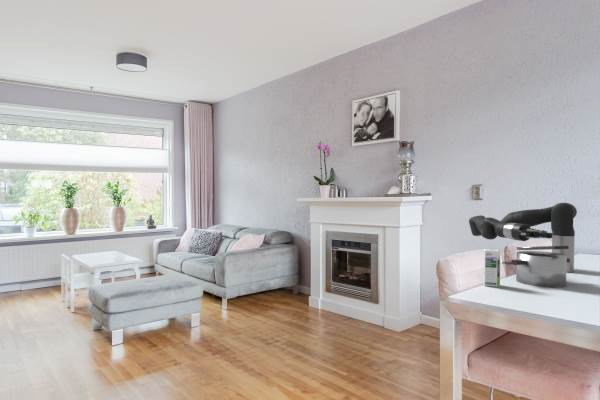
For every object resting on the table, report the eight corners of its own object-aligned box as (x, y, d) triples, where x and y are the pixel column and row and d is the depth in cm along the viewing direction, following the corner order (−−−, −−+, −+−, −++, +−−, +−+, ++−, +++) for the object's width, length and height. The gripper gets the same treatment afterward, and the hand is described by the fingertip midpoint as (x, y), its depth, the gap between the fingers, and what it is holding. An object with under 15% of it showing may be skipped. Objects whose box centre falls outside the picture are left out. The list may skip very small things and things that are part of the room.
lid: (507, 250, 175) (506, 247, 176) (539, 249, 181) (539, 246, 181) (547, 249, 156) (546, 246, 157) (582, 248, 162) (581, 245, 162)
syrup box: (483, 286, 161) (484, 249, 161) (483, 283, 167) (483, 248, 167) (499, 287, 159) (500, 250, 159) (498, 284, 165) (499, 249, 164)
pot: (497, 279, 174) (497, 251, 174) (547, 276, 182) (548, 250, 182) (532, 289, 157) (532, 258, 157) (586, 285, 165) (586, 256, 165)
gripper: (528, 239, 183) (563, 244, 167) (504, 240, 180) (537, 245, 163) (528, 223, 183) (563, 226, 167) (505, 223, 179) (538, 226, 163)
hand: (550, 235), depth 165 cm, fingers closed
